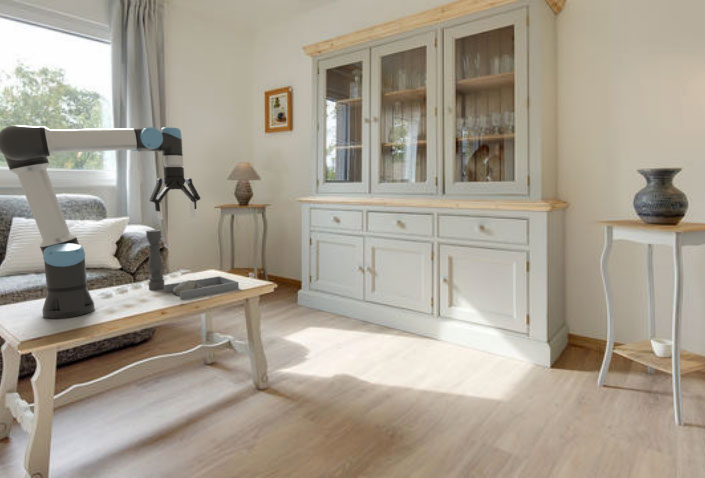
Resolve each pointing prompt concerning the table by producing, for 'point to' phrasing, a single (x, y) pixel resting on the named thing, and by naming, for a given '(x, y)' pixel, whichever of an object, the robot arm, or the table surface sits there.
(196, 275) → the table surface
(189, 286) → the fossilized seashell
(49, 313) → the robot arm
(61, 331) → the table surface
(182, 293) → the tray
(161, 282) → the candle holder
